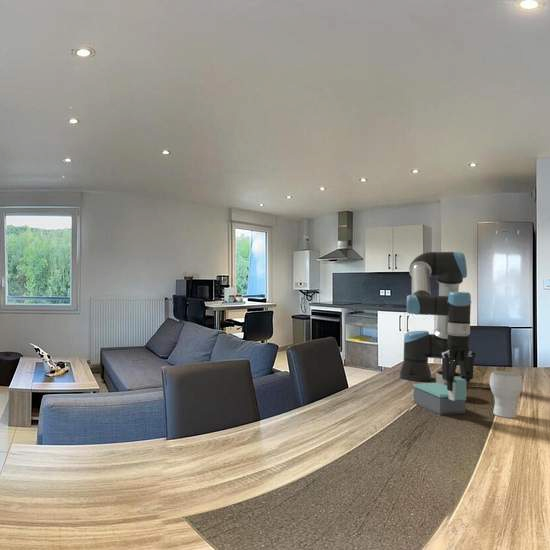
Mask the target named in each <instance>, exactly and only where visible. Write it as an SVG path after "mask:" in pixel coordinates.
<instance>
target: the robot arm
mask: <svg viewBox="0 0 550 550" xmlns="http://www.w3.org/2000/svg"><path fill="white" fill-rule="evenodd" d="M466 260H467V259H466V256H465V254H464V253H463V252H459V251H458V252H455V251H428V252H427V251H426V252H424V253H421V254H419V255H418V256H416V257H415V258H414V259H413V260H412V261H411V263H410V265H409V267H408V268H409V269H408V271H409V275H410V277H411V294H409V295H407V296H406V313H407V314H411V315H423V316H424V315H425V316H426V315H427V316H429V315H430V316H437V321H436V322H437V323H436V324H437V326H436V328H435V329H434V330H433V333H430V332H429V331H428V330H414V331H413V330H412V331H408V332H406V333H405V334H404V337H403V345H404V346H403V362H402V364H401V368H400V371H399V377H400V378H401V379H403V380H407V381H414V382H416V381H417V382H427V381H431V380H432V373H431V372H432V371H431V369H430V365H429V359H440V360H441V371H442V378H443V379H444V380H447V390H449V392H448V399H450V400H453V401H455V383H456V382H453V381H454V377H455V372H457V371H456V370H457V366H458V364H459V370H460V371H459V373H461V378H462V379H465V380H466V391H467V390H468V388H469V386H468V385H469V383H470V382H471V380H473V379H474V367H475V358H476V355H477V353H476V352H475V351H470V345H471V337H470V334H471V311H472V310H471V308H472V307H471V306H472V305H471V304H472V297H471V296H472V295H471V293H470V292H465V291H464V292H463V291H460V290H459V289H460V284H462V283H463V282H464V279H466V278H467V277H468V269H467V261H466ZM431 278H435V281H436V282H437V283H438V295H432V293H431ZM464 400H465V401H466V400H467V398H466V399H464Z"/></svg>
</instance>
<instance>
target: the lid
mask: <svg viewBox="0 0 550 550" xmlns="http://www.w3.org/2000/svg"><path fill="white" fill-rule="evenodd" d="M453 382H456V383H455V400H464V399H466V400H467V396H468V394H467V390H466V380H465V379H462V378H459V377H456V378H454V381H453ZM412 386H413V388H418V389H421V390H423V391H425V392H428V393H430V394H433V395H435V396H437V397H440V398H441V397H448V392H449V390H447V386H446V385H443V384H441V383H438V382H437V383H436V382H421V383H412Z"/></svg>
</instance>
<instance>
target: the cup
mask: <svg viewBox="0 0 550 550" xmlns="http://www.w3.org/2000/svg"><path fill="white" fill-rule="evenodd" d="M489 387H490V390H491V392H492V395H493V396H494V398H493V399H494V406H493V412H492V413H493V415H495V416H498V417H502V418H506V419H507V418H509V419H510V418H511V419H515V418H517V417H518V411H517V400H518V398H519V397H520V395H521V393H522V391H523V379H522V376H521V375H520V374H519V373H515V372H510V371H500V370H498V371H497V370H495V371H492V372H491V373H490V376H489Z"/></svg>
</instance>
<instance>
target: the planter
mask: <svg viewBox="0 0 550 550" xmlns="http://www.w3.org/2000/svg"><path fill="white" fill-rule="evenodd" d="M456 377H459V378H461V372H457V371H455V377H454V378H456ZM435 378H436V379H435V383H437V382H438V383H441V384H443V385H446V386H447V380H444V379H443V378H442V370H439V371H436V377H435Z"/></svg>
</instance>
